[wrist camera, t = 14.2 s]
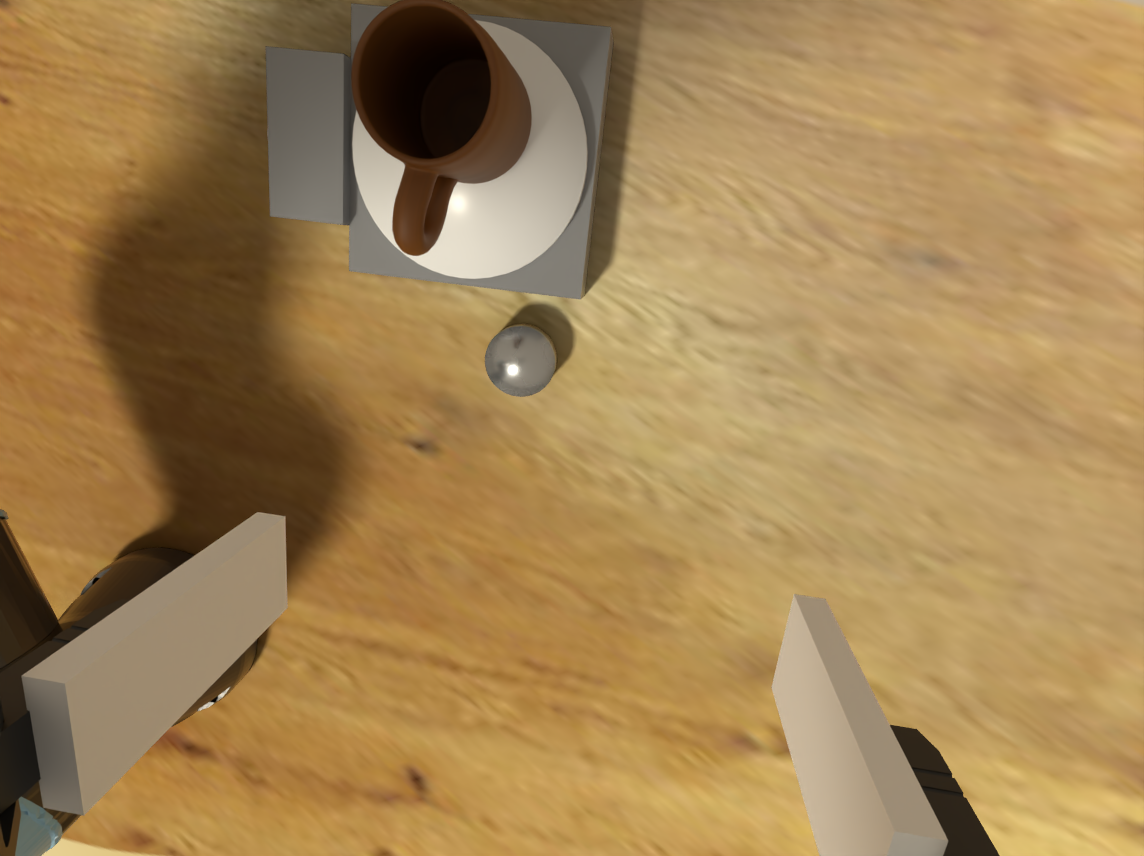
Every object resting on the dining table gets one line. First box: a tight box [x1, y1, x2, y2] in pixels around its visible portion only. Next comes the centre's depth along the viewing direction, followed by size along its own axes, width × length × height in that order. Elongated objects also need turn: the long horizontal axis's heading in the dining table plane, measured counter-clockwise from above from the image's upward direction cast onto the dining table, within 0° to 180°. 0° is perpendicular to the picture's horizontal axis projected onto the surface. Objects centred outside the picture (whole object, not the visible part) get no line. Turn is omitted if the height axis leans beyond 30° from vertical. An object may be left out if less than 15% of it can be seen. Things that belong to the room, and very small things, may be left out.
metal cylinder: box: [485, 324, 557, 397], centre depth 46 cm, size 5×5×2 cm
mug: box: [351, 0, 532, 256], centre depth 35 cm, size 12×8×9 cm, turn 166°
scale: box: [266, 3, 614, 299], centre depth 42 cm, size 21×16×4 cm
